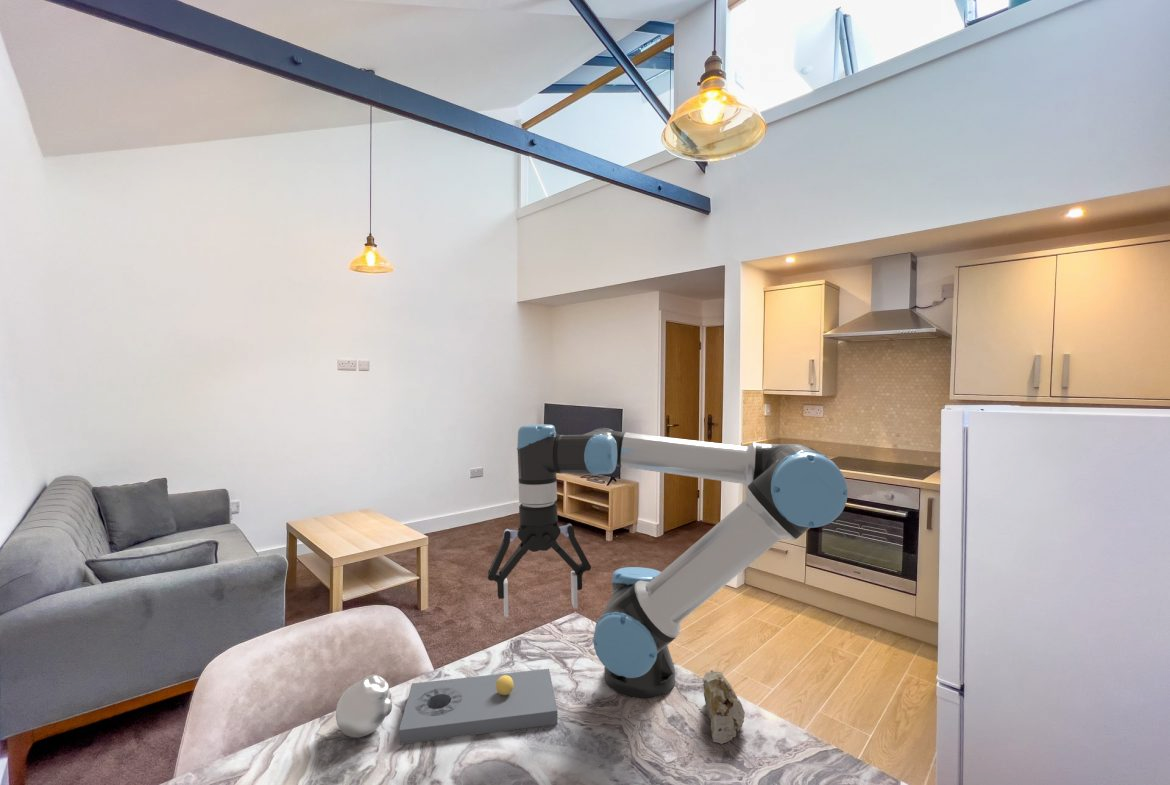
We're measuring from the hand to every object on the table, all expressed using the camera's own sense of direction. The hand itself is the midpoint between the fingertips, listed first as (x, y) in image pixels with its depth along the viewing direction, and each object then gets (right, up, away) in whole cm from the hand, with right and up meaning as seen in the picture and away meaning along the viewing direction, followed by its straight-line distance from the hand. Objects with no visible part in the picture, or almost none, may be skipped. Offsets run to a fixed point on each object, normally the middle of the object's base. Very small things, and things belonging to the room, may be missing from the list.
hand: (540, 610), depth 98 cm
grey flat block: (-11, -19, -2) cm, 22 cm away
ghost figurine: (-31, -19, -8) cm, 37 cm away
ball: (-7, -14, -1) cm, 16 cm away
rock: (+35, -19, -5) cm, 40 cm away
